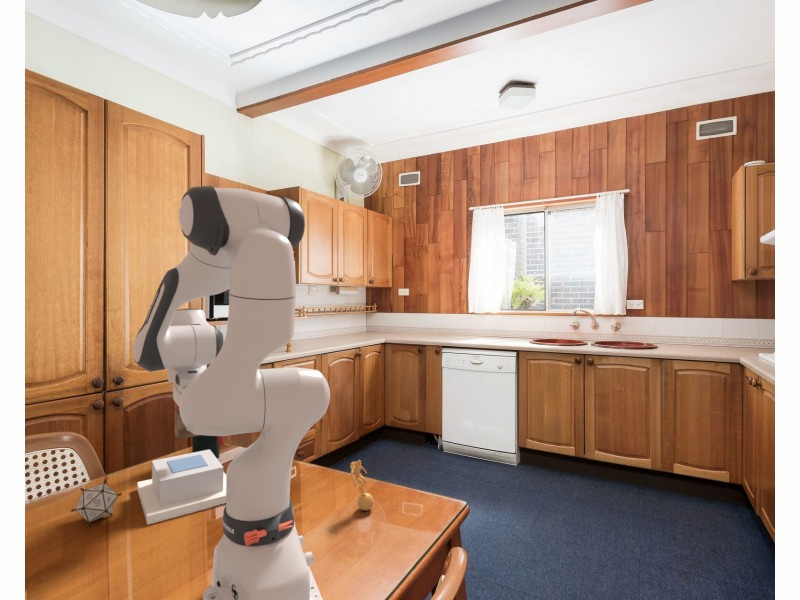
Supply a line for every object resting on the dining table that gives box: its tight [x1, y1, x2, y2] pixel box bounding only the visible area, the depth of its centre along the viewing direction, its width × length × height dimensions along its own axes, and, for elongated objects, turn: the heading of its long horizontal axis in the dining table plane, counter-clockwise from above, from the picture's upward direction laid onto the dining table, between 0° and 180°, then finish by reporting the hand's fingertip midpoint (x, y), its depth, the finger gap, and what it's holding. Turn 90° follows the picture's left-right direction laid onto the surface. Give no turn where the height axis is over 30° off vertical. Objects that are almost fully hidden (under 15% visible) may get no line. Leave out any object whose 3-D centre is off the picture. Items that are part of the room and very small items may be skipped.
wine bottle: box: [191, 363, 224, 460], centre depth 133 cm, size 8×10×30 cm
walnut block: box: [174, 409, 200, 440], centre depth 110 cm, size 5×5×6 cm
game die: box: [70, 479, 123, 527], centre depth 99 cm, size 9×8×10 cm
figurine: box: [349, 459, 375, 512], centre depth 106 cm, size 8×6×12 cm
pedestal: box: [136, 449, 226, 526], centre depth 111 cm, size 20×20×8 cm
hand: (187, 426), depth 110 cm, fingers closed on walnut block, 5 cm apart
